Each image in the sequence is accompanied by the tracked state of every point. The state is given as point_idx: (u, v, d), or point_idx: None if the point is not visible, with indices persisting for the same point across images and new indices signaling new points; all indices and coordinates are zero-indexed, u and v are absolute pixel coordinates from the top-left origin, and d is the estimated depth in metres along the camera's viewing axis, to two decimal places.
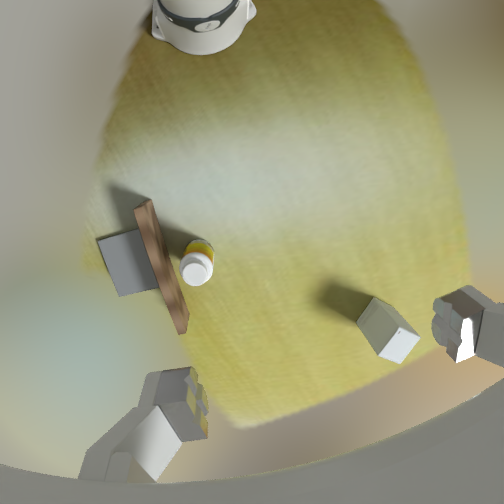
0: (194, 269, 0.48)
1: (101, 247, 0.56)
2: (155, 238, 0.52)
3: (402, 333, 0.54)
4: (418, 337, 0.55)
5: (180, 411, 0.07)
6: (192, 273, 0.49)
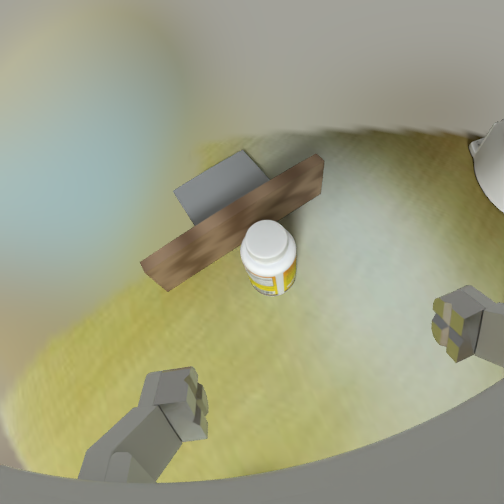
0: (275, 235, 0.29)
1: (236, 155, 0.45)
2: (283, 197, 0.37)
3: None
4: None
5: (180, 411, 0.07)
6: (267, 234, 0.29)
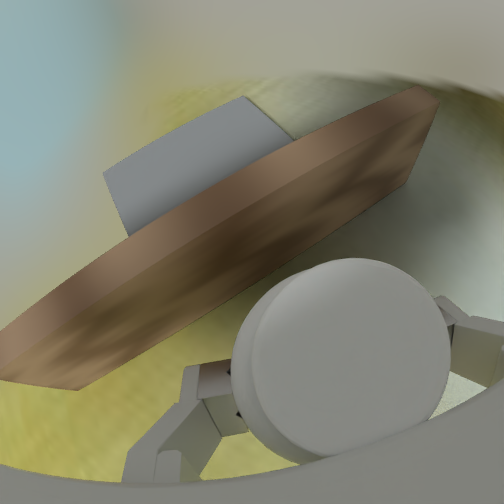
0: (403, 338, 0.05)
1: (230, 104, 0.22)
2: (351, 179, 0.13)
3: None
4: None
5: (224, 404, 0.07)
6: (365, 336, 0.05)
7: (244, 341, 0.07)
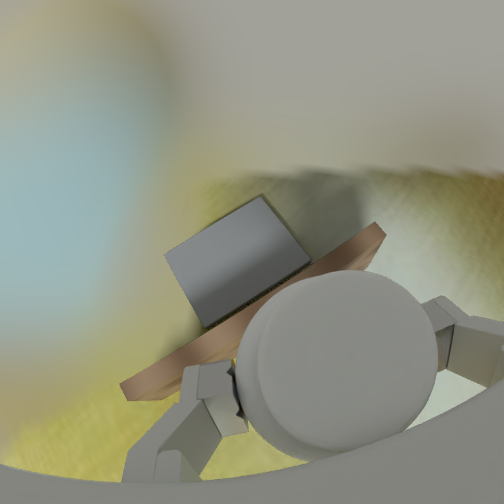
0: (394, 343, 0.06)
1: (251, 204, 0.34)
2: None
3: None
4: None
5: (224, 404, 0.07)
6: (360, 340, 0.06)
7: (248, 344, 0.08)
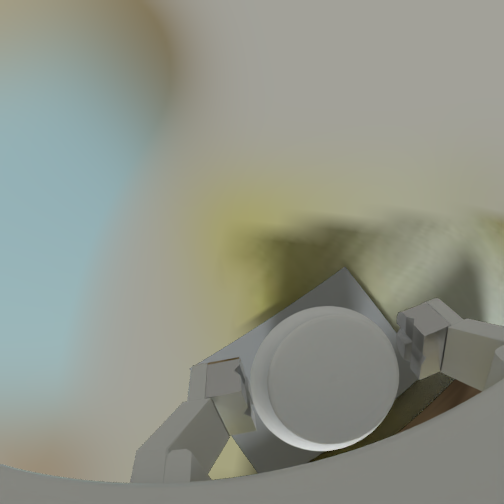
0: (365, 367, 0.08)
1: (332, 281, 0.20)
2: None
3: None
4: None
5: (233, 403, 0.07)
6: (339, 367, 0.08)
7: (259, 365, 0.10)
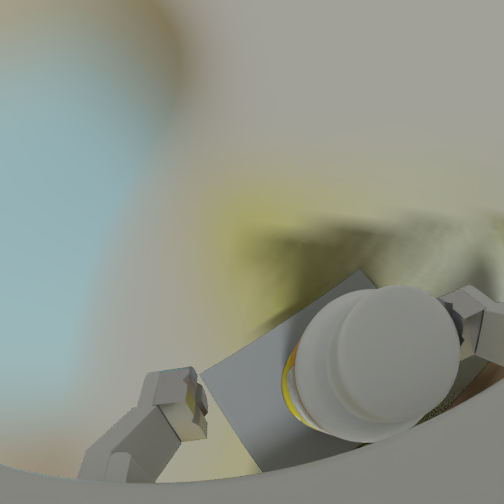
0: (431, 337, 0.08)
1: (347, 284, 0.19)
2: None
3: None
4: None
5: (179, 411, 0.07)
6: (408, 336, 0.08)
7: (310, 348, 0.10)
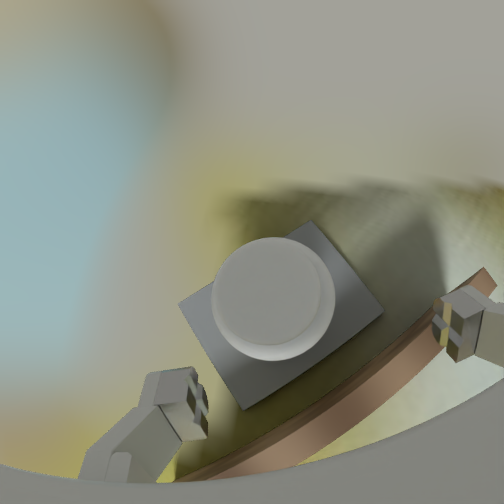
0: (289, 280, 0.11)
1: (300, 231, 0.24)
2: None
3: None
4: None
5: (180, 411, 0.07)
6: (268, 280, 0.11)
7: None
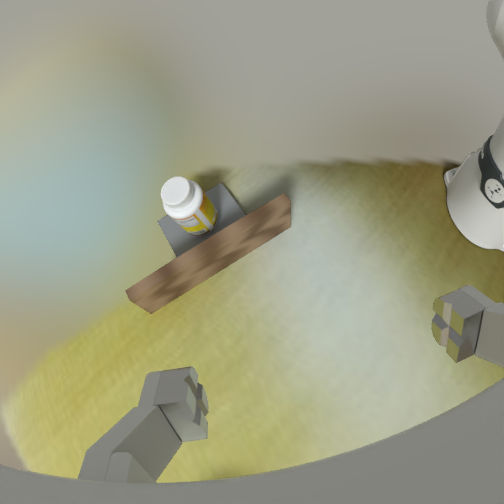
0: (180, 184, 0.38)
1: (215, 188, 0.50)
2: (253, 233, 0.42)
3: None
4: None
5: (180, 411, 0.07)
6: (174, 187, 0.38)
7: (163, 202, 0.40)
